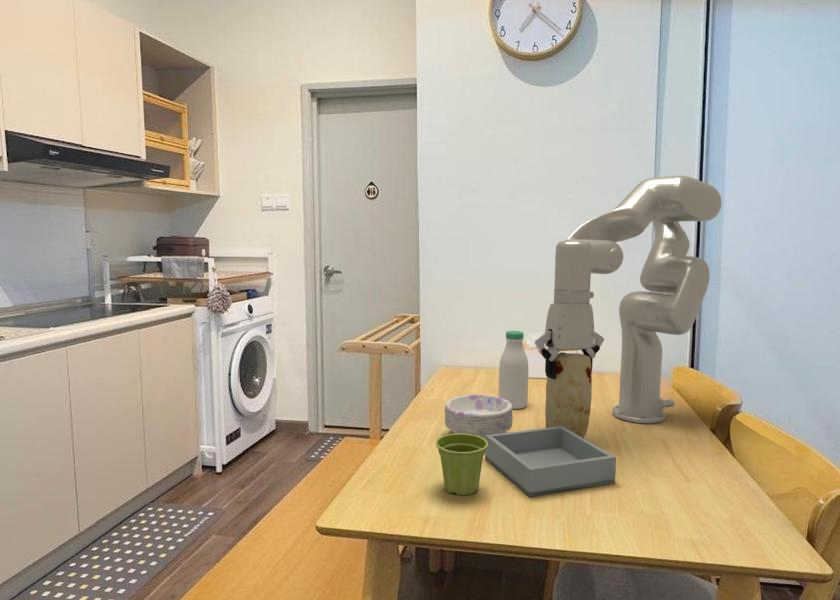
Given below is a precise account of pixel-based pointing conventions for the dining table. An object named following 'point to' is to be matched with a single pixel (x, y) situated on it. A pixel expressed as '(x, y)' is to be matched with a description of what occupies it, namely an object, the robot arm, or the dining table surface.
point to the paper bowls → (478, 415)
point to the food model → (570, 394)
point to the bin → (549, 460)
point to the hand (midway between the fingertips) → (568, 376)
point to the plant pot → (461, 461)
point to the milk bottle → (514, 371)
